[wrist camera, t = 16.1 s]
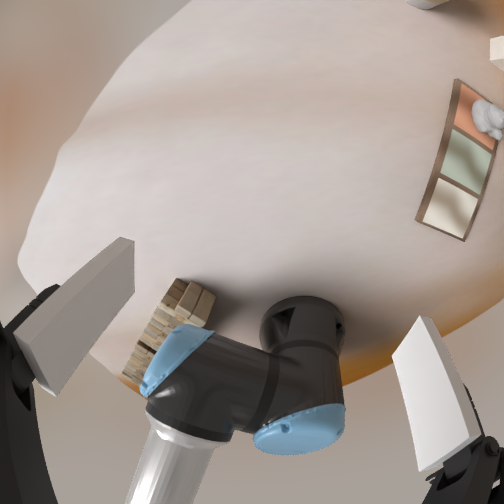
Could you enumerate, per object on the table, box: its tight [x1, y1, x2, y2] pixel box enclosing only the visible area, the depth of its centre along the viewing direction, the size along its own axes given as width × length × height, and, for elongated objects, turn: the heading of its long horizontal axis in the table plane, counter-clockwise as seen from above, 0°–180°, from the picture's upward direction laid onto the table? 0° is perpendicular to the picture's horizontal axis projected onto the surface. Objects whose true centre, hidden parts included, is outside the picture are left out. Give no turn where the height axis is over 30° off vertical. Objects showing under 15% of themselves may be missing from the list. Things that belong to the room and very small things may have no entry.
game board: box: [415, 79, 498, 242], centre depth 30 cm, size 24×11×1 cm, turn 167°
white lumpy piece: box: [471, 99, 504, 140], centre depth 23 cm, size 5×7×8 cm
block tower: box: [121, 278, 216, 387], centre depth 50 cm, size 8×8×29 cm
